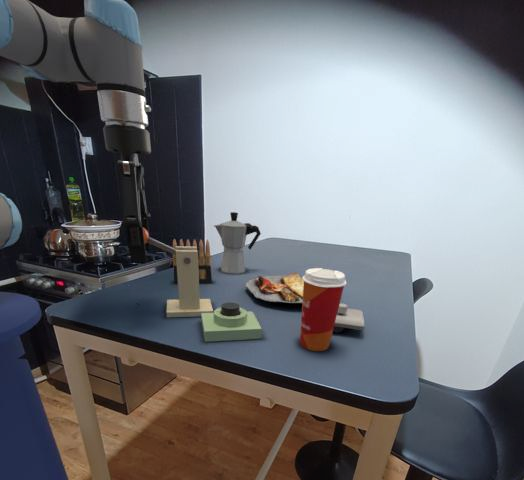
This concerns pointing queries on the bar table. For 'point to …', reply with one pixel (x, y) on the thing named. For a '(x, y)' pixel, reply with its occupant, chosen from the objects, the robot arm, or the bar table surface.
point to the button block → (230, 326)
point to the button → (230, 309)
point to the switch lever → (157, 243)
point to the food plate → (278, 288)
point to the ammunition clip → (203, 265)
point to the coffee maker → (235, 243)
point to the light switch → (348, 319)
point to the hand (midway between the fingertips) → (141, 256)
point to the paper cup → (320, 307)
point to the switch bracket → (188, 286)
